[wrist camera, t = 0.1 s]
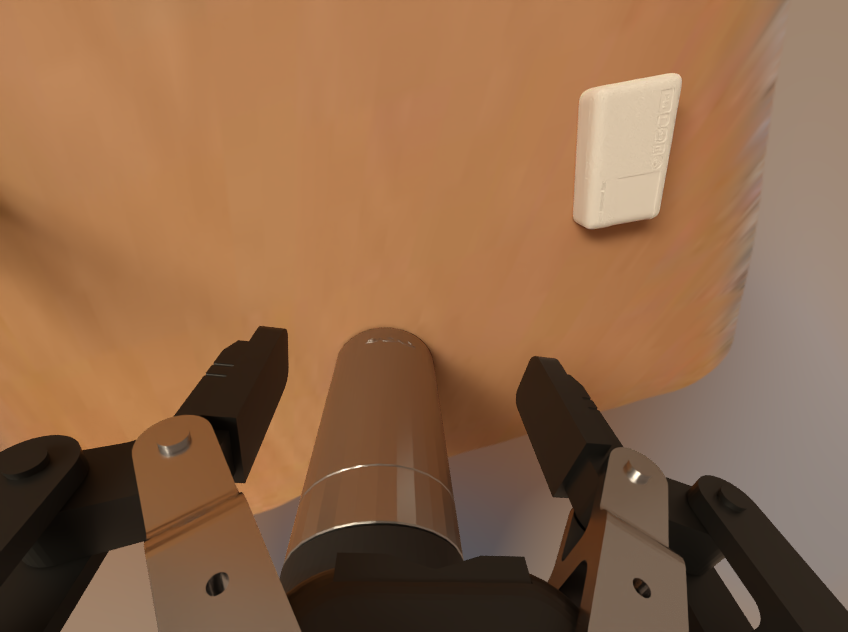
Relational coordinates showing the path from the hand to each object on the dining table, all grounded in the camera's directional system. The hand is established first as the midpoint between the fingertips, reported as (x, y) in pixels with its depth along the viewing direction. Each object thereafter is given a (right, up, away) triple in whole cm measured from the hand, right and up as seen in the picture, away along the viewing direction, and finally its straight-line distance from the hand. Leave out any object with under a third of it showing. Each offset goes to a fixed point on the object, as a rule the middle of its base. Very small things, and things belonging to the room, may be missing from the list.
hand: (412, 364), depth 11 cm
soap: (+14, +13, +14) cm, 24 cm away
